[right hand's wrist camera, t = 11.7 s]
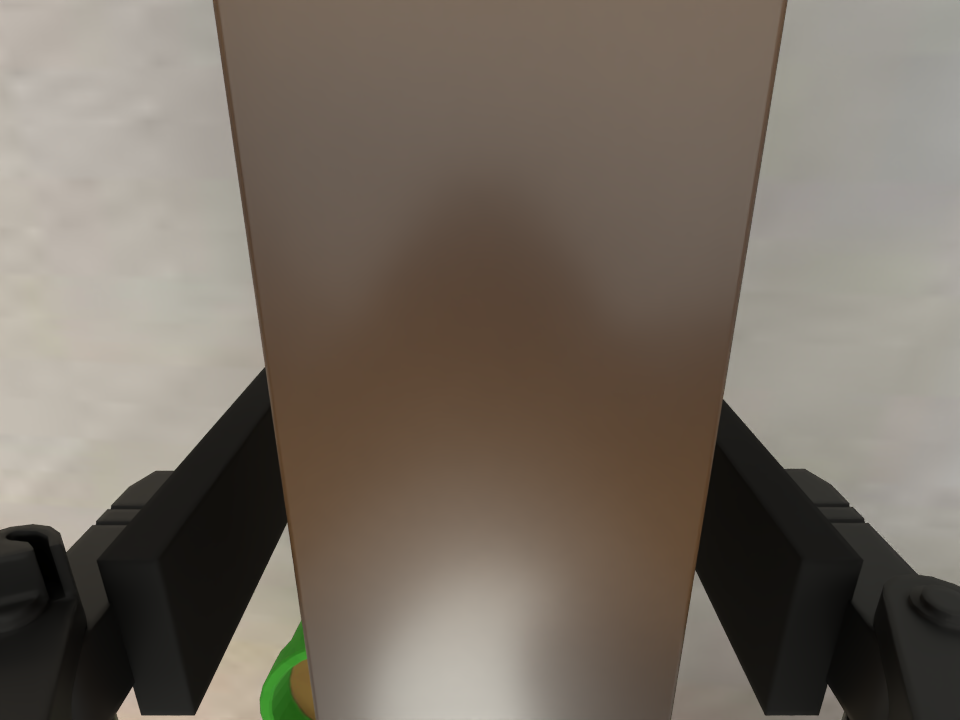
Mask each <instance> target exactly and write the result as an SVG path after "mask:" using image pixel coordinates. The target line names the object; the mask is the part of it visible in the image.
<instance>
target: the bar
mask: <svg viewBox="0 0 960 720" xmlns="http://www.w3.org/2000/svg"><path fill="white" fill-rule="evenodd" d="M787 1H788V0H213V5H214V12H215V19H216V26H217V33H218V40H219V47H220V54H221V61H222V68H223V75H224V82H225V89H226V96H227V103H228V110H229V117H230V124H231V131H232V138H233V145H234V152H235V159H236V166H237V173H238V180H239V187H240V194H241V201H242V208H243V215H244V222H245V229H246V236H247V243H248V250H249V257H250V264H251V271H252V278H253V285H254V292H255V299H256V306H257V313H258V319H259V326H260V333H261V340H262V347H263V354H264V361H265V368H266V375H267V382H268V389H269V396H270V403H271V410H272V417H273V424H274V431H275V438H276V445H277V452H278V459H279V466H280V473H281V480H282V487H283V494H284V501H285V508H286V515H287V522H288V529H289V536H290V543H291V550H292V557H293V564H294V571H295V578H296V585H297V592H298V599H299V606H300V613H301V620H302V627H303V634H304V641H305V648H306V655H307V662H308V669H309V676H310V683H311V690H312V697H313V704H314V711H315V718H316V720H671V715H672V709H673V703H674V697H675V691H676V684H677V678H678V672H679V666H680V660H681V654H682V647H683V641H684V635H685V629H686V623H687V617H688V611H689V604H690V598H691V592H692V586H693V580H694V574H695V567H696V561H697V555H698V549H699V543H700V537H701V530H702V524H703V518H704V512H705V506H706V500H707V494H708V487H709V481H710V475H711V469H712V463H713V457H714V450H715V444H716V438H717V432H718V426H719V420H720V413H721V407H722V401H723V395H724V389H725V383H726V377H727V370H728V364H729V358H730V352H731V346H732V340H733V333H734V327H735V321H736V315H737V309H738V303H739V296H740V290H741V284H742V278H743V272H744V266H745V260H746V253H747V247H748V241H749V235H750V229H751V223H752V216H753V210H754V204H755V198H756V192H757V186H758V179H759V173H760V167H761V161H762V155H763V149H764V143H765V136H766V130H767V124H768V118H769V112H770V106H771V99H772V93H773V87H774V81H775V75H776V69H777V62H778V56H779V50H780V44H781V38H782V32H783V26H784V19H785V13H786V7H787Z"/></svg>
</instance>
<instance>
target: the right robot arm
mask: <svg viewBox="0 0 960 720" xmlns="http://www.w3.org/2000/svg"><path fill="white" fill-rule="evenodd" d="M286 524H287V515H286V508H285V501H284V494H283V487H282V480H281V473H280V466H279V459H278V452H277V445H276V438H275V431H274V424H273V417H272V410H271V403H270V396H269V389H268V382H267V375H266V368H264V369H263V370H262V371H261V372H260V373H259V374H258V376H257V377H256V378H255V379H254V380H253V381H252V382H251V384H250V385H249V386H248V387H247V388H246V389H245V391H244V392H243V393H242V394H241V395H240V396H239V397H238V399H237V400H236V401H235V402H234V403H233V404H232V405H231V407H230V408H229V409H228V410H227V411H226V412H225V413H224V415H223V416H222V417H221V418H220V419H219V420H218V421H217V423H216V424H215V425H214V426H213V427H212V428H211V429H210V431H209V432H208V433H207V434H206V435H205V436H204V438H203V439H202V440H201V441H200V442H199V443H198V444H197V446H196V447H195V448H194V449H193V450H192V451H191V452H190V454H189V455H188V456H187V457H186V458H185V459H184V460H183V462H182V463H181V464H180V465H179V466H178V467H177V468H176V470H175V471H155V472H153V473H151V474H150V475H148V476H146V477H145V478H143V479H141V480H140V481H138V482H136V483H135V484H133V485H131V486H130V487H129V488H128V489H127V490H126V491H125V492H124V493H123V494H122V495H121V496H120V497H119V498H118V499H117V500H116V501H115V502H114V503H113V504H112V505H111V509H107V510H106V512H105V513H104V514H103V515H102V516H101V517H100V518H99V519H98V520H97V521H96V525H92V526H91V527H90V528H89V529H88V530H87V531H86V532H85V533H84V534H83V536H82V537H81V538H80V539H79V540H78V541H77V542H76V543H75V544H74V545H73V546H72V547H71V548H70V549H69V550H68V551H67V552H66V551H65V547H64V544H63V541H62V538H61V535H60V533H59V532H58V531H56V530H55V529H53V528H52V527H50V526H43V525H35V524H31V525H23V526H14V527H9V528H6V529H2V530H0V720H118V717H117V714H116V713H117V711H118V710H119V708H120V706H121V705H122V703H123V701H124V700H125V698H126V696H127V695H128V693H129V692H130V690H131V688H132V687H133V688H134V692H135V695H136V698H137V702H138V705H139V709H140V712H141V715H195V714H196V712H197V710H198V708H199V706H200V703H201V701H202V699H203V697H204V695H205V693H206V691H207V689H208V687H209V685H210V683H211V681H212V678H213V676H214V674H215V672H216V670H217V668H218V666H219V664H220V662H221V660H222V658H223V656H224V653H225V651H226V649H227V647H228V645H229V643H230V641H231V639H232V637H233V635H234V633H235V630H236V628H237V626H238V624H239V622H240V620H241V618H242V616H243V614H244V612H245V610H246V608H247V605H248V603H249V601H250V599H251V597H252V595H253V593H254V591H255V589H256V587H257V585H258V583H259V580H260V578H261V576H262V574H263V572H264V570H265V568H266V566H267V564H268V562H269V560H270V557H271V555H272V553H273V551H274V549H275V547H276V545H277V543H278V541H279V539H280V537H281V535H282V532H283V530H284V528H285V526H286ZM695 570H696V572H697V574H698V576H699V578H700V580H701V582H702V585H703V587H704V589H705V591H706V593H707V595H708V597H709V599H710V601H711V603H712V605H713V608H714V610H715V612H716V614H717V616H718V618H719V620H720V622H721V624H722V626H723V628H724V630H725V633H726V635H727V637H728V639H729V641H730V643H731V645H732V647H733V649H734V651H735V653H736V656H737V658H738V660H739V662H740V664H741V666H742V668H743V670H744V672H745V674H746V676H747V678H748V681H749V683H750V685H751V687H752V689H753V691H754V693H755V695H756V697H757V699H758V701H759V703H760V706H761V708H762V710H763V712H764V714H765V715H819V712H820V709H821V705H822V702H823V698H824V695H825V692H826V688H827V685H829V687H830V688H831V690H832V692H833V693H834V695H835V696H836V698H837V700H838V701H839V703H840V705H841V706H842V708H843V709H844V714H843V717H842V720H960V587H959V586H957V585H955V584H952V583H949V582H946V581H943V580H940V579H937V578H934V577H930V576H923V575H918V574H917V573H916V572H915V571H914V570H913V569H912V568H911V567H910V566H909V565H908V564H907V563H906V562H905V561H904V560H903V559H902V558H901V556H900V555H899V554H898V553H897V552H896V551H895V550H894V549H893V548H892V547H891V546H890V545H889V544H888V543H887V542H886V541H885V540H884V539H883V538H882V537H881V536H880V535H879V534H878V533H877V532H876V531H875V530H874V528H873V527H872V526H871V525H870V524H869V523H865V521H864V518H863V517H862V516H861V515H860V514H859V513H858V512H857V511H856V510H855V509H854V508H853V507H850V506H849V503H848V502H847V500H846V499H845V498H844V497H843V496H842V495H841V494H840V493H839V492H838V491H837V490H836V489H835V488H834V487H833V486H832V485H831V484H829V483H827V482H826V481H824V480H822V479H821V478H819V477H817V476H816V475H814V474H812V473H811V472H809V471H807V470H806V469H784V468H783V467H782V466H781V465H780V464H779V463H778V462H777V460H776V459H775V458H774V457H773V456H772V455H771V454H770V452H769V451H768V450H767V449H766V448H765V447H764V446H763V444H762V443H761V442H760V441H759V440H758V439H757V437H756V436H755V435H754V434H753V433H752V432H751V431H750V429H749V428H748V427H747V426H746V425H745V424H744V423H743V421H742V420H741V419H740V418H739V417H738V416H737V415H736V413H735V412H734V411H733V410H732V409H731V408H730V407H729V405H728V404H727V403H726V402H725V401H724V400H723V401H722V407H721V413H720V420H719V426H718V432H717V438H716V444H715V450H714V457H713V463H712V469H711V475H710V481H709V487H708V494H707V500H706V506H705V512H704V518H703V524H702V530H701V537H700V543H699V549H698V555H697V561H696V567H695Z"/></svg>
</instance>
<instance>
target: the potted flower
mask: <svg viewBox="0 0 960 720" xmlns="http://www.w3.org/2000/svg"><path fill="white" fill-rule="evenodd" d="M260 713H261V716H262V719H263V720H316V718H315V711H314V704H313V697H312V690H311V683H310V676H309V669H308V662H307V655H306V648H305V641H304V634H303V627H302V620H301V622H300V624H299V626H298V628H297V630H296V632H295V634H294V636H293V638H292V640H291V641H290V642H289V643H288V644H287V645H286V646H285V647H284V649H283V650H282V651H281V652H280V654H279V656H278V657H277V659H276V661H275V663H274V665H273V667H272V669H271V671H270V673H269V675H268V677H267V679H266V681H265V683H264V685H263V687H262V692H261V696H260Z"/></svg>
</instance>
